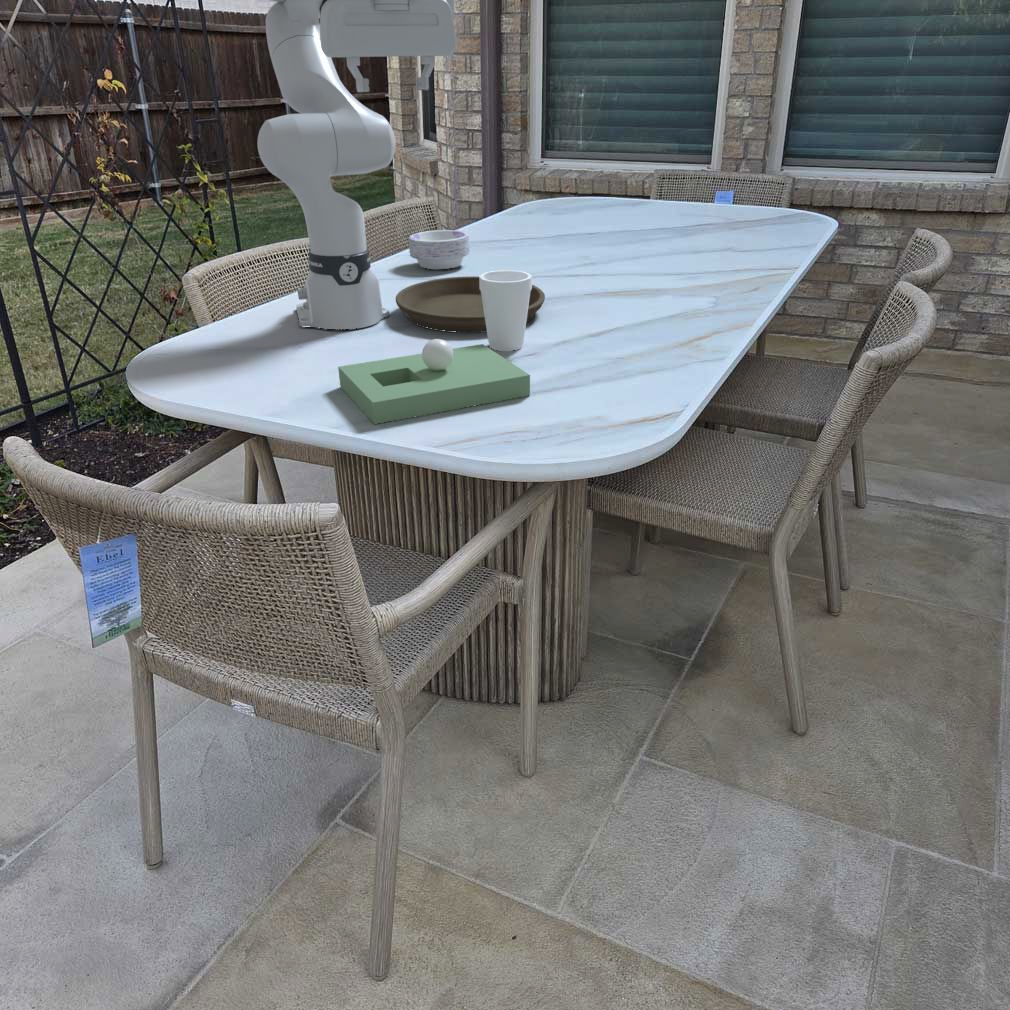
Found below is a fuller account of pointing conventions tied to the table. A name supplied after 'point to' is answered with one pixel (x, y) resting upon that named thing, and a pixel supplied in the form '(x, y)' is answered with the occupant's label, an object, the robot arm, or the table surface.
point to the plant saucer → (452, 304)
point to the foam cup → (505, 307)
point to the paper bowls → (439, 248)
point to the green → (432, 384)
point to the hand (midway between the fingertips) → (393, 91)
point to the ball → (437, 354)
